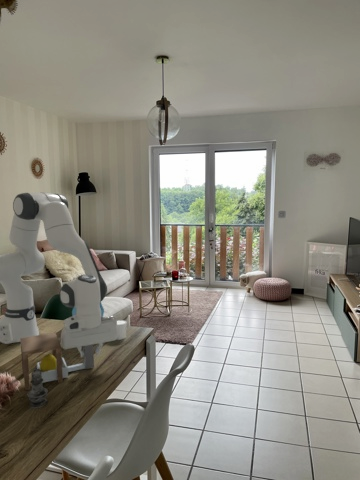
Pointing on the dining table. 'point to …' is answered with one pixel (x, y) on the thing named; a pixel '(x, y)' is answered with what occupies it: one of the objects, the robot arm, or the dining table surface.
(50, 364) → the lemon
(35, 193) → the robot arm
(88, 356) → the slider
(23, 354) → the tunnel
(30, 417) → the dining table surface
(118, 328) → the grey white cylinder
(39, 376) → the gray stone ornament
